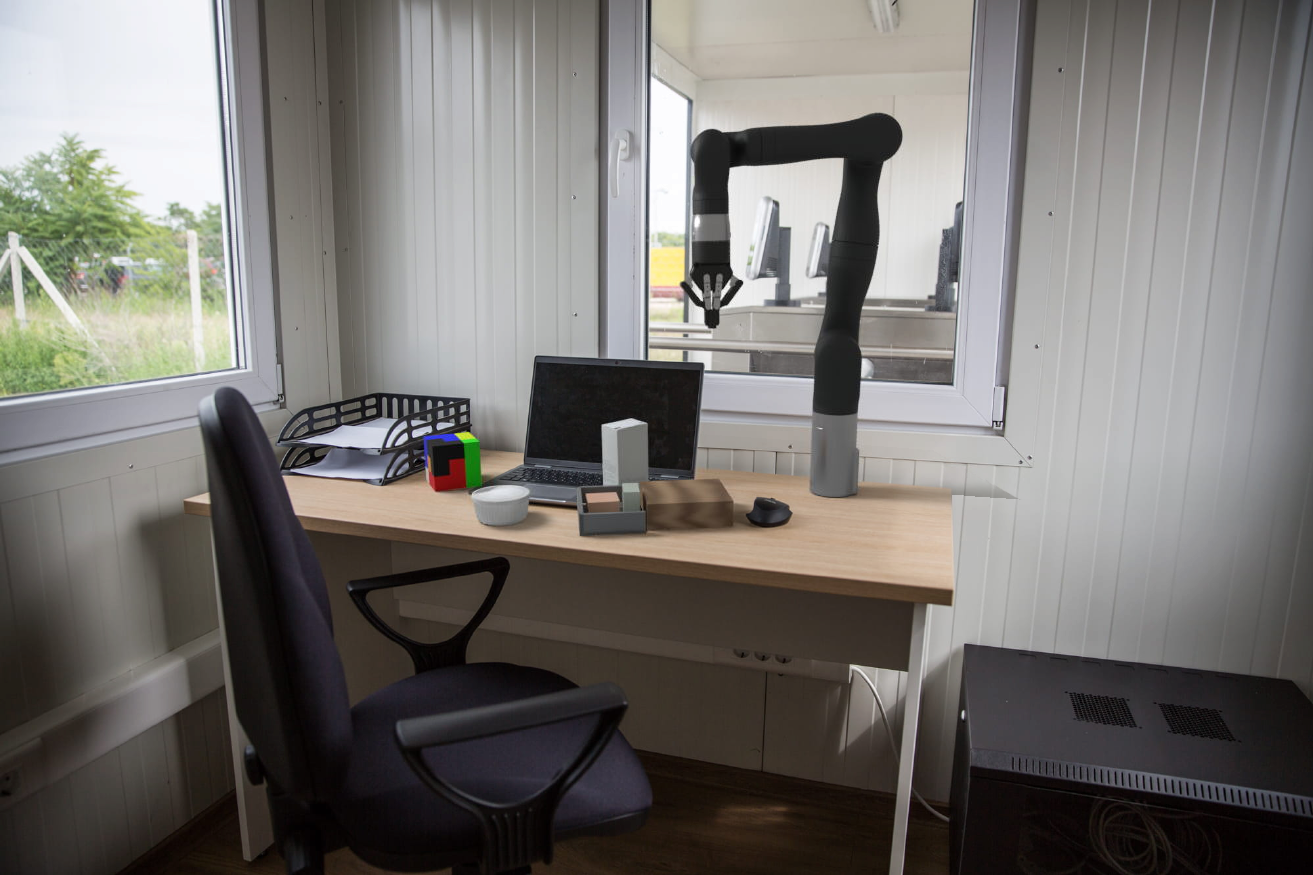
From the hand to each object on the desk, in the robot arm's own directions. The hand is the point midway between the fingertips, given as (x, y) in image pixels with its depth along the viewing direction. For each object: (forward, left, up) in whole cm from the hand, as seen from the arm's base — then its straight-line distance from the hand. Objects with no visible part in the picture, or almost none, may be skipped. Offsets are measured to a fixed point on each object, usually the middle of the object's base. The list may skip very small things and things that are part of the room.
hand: (711, 328), depth 173 cm
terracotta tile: (+23, +10, -31) cm, 40 cm away
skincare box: (+17, -6, -35) cm, 39 cm away
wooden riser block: (+7, +12, -35) cm, 37 cm away
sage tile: (+16, +14, -31) cm, 38 cm away
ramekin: (+42, +9, -35) cm, 56 cm away
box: (+22, +12, -35) cm, 43 cm away
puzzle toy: (+54, -17, -35) cm, 67 cm away
